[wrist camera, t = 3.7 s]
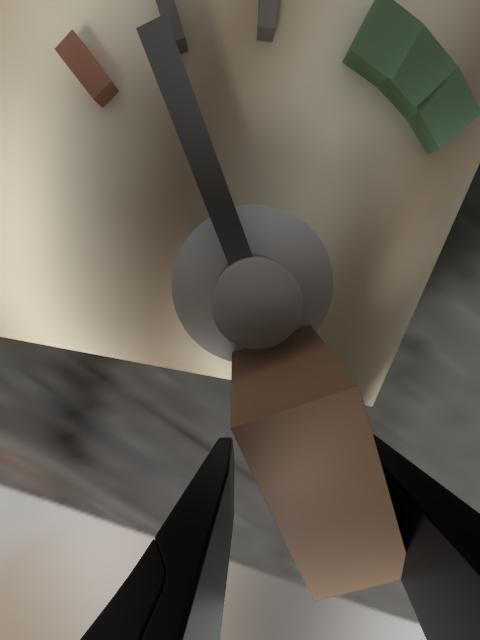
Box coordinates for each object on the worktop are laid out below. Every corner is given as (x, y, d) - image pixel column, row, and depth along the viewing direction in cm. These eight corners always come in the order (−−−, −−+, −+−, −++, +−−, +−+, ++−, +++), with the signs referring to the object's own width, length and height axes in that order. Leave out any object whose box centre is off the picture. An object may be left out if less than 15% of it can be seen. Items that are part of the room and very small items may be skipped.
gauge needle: (88, 108, 7) (-101, -50, 3) (256, 28, 6) (290, -280, 2) (260, 473, 10) (275, 611, 7) (372, 438, 10) (455, 565, 6)
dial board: (490, 52, 8) (569, -3, 6) (355, 384, 12) (379, 415, 10) (-30, -117, 7) (-133, -251, 5) (-6, 314, 10) (-61, 334, 8)
